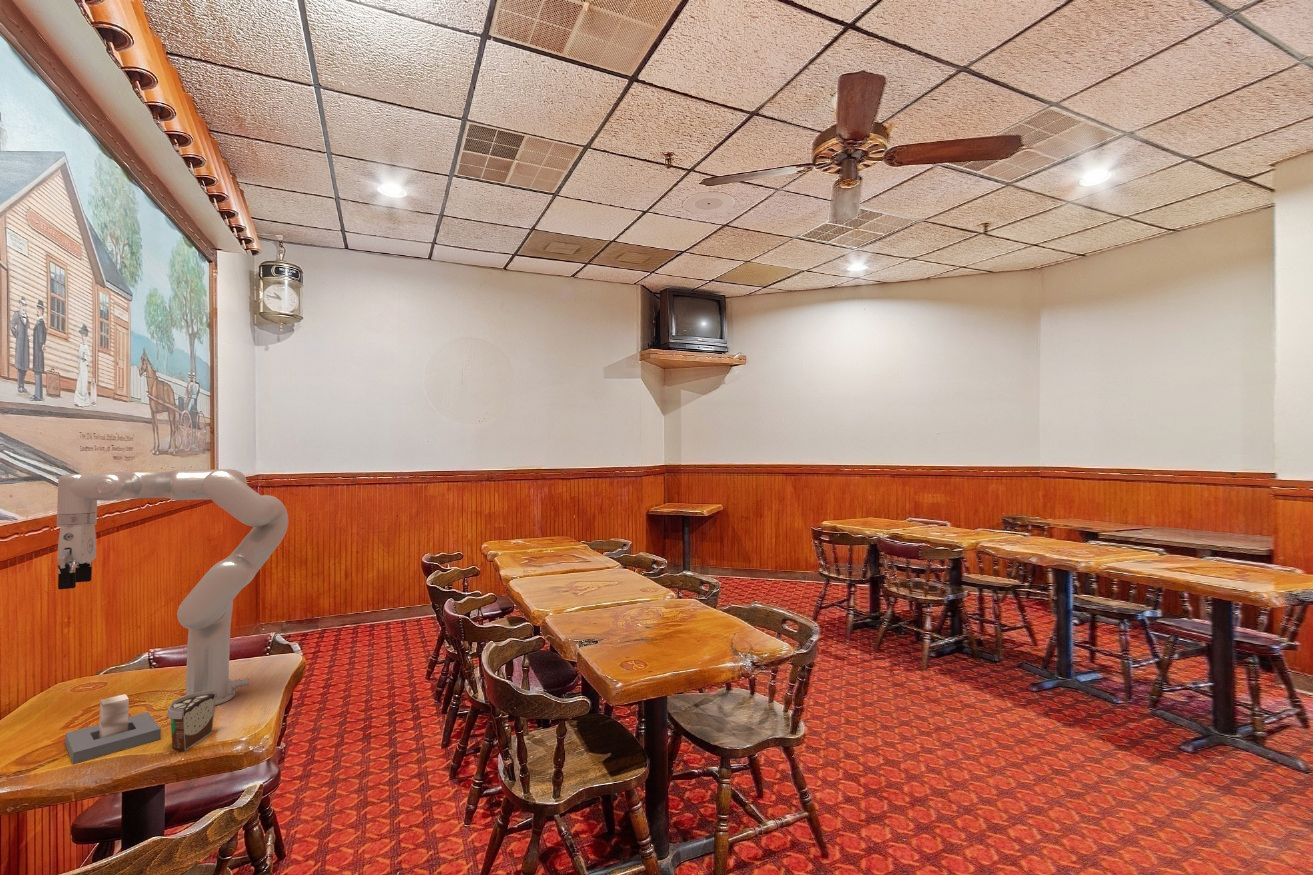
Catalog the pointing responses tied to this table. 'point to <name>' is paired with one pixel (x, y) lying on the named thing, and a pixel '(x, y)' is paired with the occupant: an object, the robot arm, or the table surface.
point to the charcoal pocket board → (111, 738)
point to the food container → (191, 719)
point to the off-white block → (113, 715)
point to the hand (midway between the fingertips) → (75, 585)
